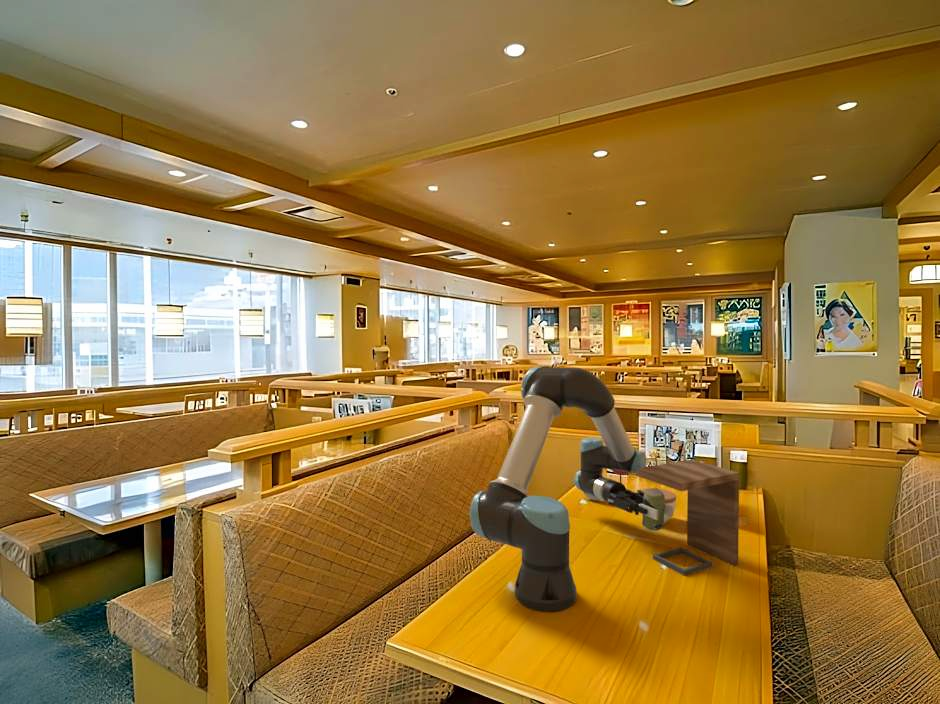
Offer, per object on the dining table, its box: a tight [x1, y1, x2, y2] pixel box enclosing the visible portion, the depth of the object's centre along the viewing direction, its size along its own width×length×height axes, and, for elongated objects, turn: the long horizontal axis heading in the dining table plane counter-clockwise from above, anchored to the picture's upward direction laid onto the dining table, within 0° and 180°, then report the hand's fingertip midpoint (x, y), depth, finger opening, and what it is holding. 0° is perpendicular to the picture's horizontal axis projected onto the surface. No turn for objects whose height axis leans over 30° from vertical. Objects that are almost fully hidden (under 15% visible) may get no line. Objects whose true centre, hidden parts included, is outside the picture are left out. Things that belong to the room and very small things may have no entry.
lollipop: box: [610, 469, 629, 483], centre depth 204 cm, size 8×8×15 cm
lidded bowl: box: [639, 487, 677, 524], centre depth 175 cm, size 13×13×11 cm
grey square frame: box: [652, 547, 714, 576], centre depth 143 cm, size 11×11×1 cm
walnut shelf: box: [635, 459, 740, 567], centre depth 143 cm, size 22×16×26 cm
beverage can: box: [641, 487, 665, 532], centre depth 153 cm, size 6×7×12 cm
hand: (664, 513), depth 148 cm, fingers closed on beverage can, 5 cm apart
